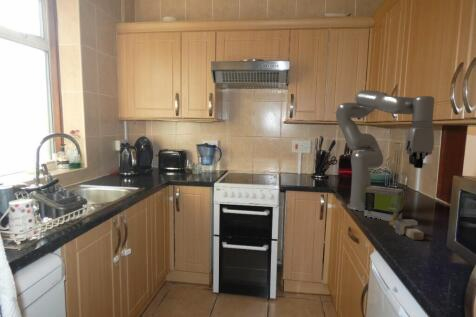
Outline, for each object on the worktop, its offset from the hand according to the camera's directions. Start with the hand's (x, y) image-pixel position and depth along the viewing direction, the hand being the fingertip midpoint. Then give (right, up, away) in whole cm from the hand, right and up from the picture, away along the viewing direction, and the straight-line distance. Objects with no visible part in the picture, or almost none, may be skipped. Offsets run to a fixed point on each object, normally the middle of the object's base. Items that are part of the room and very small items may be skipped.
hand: (418, 167), depth 126 cm
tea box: (-7, -26, +17) cm, 31 cm away
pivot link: (-7, -27, -2) cm, 28 cm away
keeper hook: (-8, -28, -4) cm, 29 cm away
